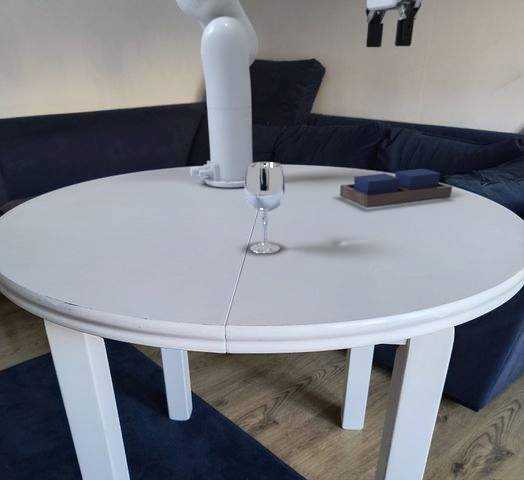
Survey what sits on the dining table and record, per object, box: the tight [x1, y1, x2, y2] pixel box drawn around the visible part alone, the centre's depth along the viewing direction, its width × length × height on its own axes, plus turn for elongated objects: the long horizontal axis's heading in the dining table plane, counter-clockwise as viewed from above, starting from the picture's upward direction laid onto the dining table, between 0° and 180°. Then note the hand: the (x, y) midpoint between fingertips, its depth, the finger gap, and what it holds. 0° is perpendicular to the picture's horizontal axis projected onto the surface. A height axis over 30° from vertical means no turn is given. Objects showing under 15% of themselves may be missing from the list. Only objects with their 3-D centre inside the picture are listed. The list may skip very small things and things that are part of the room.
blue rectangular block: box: [394, 168, 441, 190], centre depth 98 cm, size 7×5×4 cm
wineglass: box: [243, 161, 286, 255], centre depth 70 cm, size 6×6×12 cm
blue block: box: [353, 173, 400, 195], centre depth 95 cm, size 7×5×4 cm
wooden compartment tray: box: [339, 181, 453, 208], centre depth 97 cm, size 10×19×3 cm, turn 112°
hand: (387, 46), depth 93 cm, fingers open, 9 cm apart
